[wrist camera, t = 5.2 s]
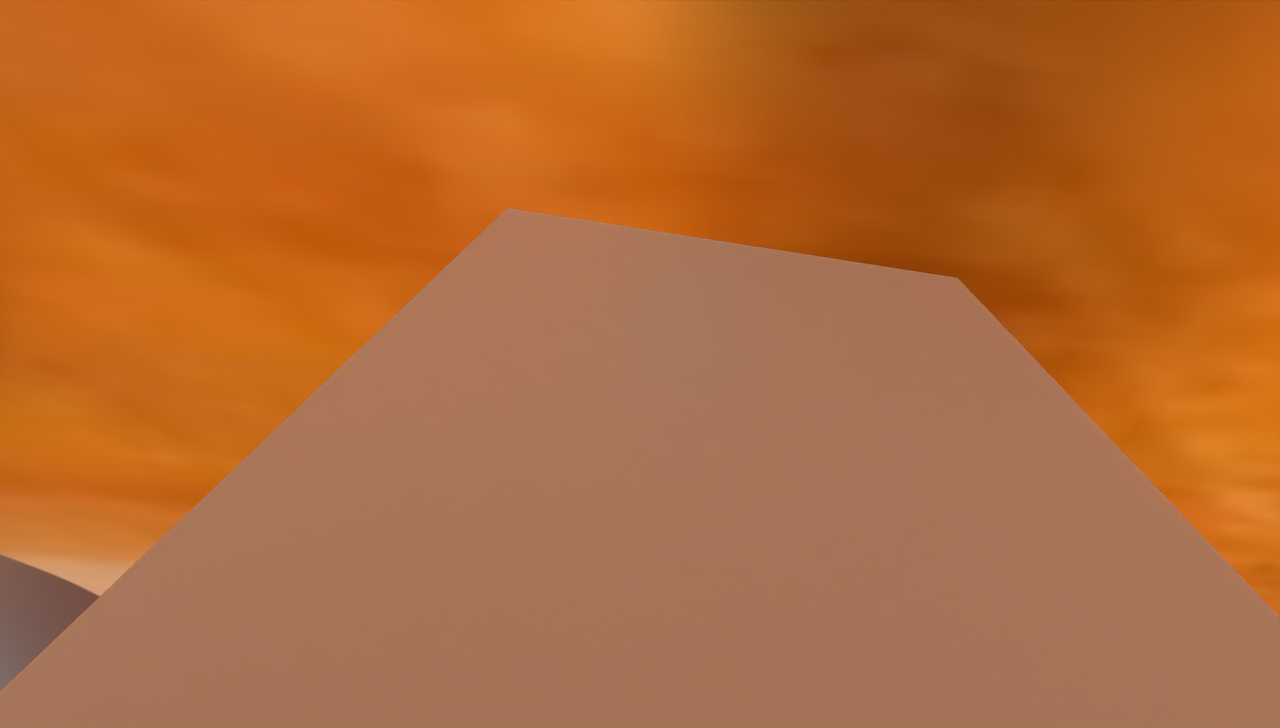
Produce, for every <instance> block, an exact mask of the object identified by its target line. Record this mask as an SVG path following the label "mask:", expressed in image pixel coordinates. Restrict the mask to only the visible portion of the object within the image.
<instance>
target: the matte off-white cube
mask: <svg viewBox="0 0 1280 728" xmlns="http://www.w3.org/2000/svg"><path fill="white" fill-rule="evenodd" d="M0 728H1280V617H1279V616H1278V615H1277V614H1276V613H1275V612H1274V610H1273V609H1272V608H1271V607H1270V606H1269V605H1268V604H1267V603H1266V602H1265V601H1264V600H1263V599H1262V598H1261V597H1260V596H1259V595H1258V594H1257V593H1256V592H1255V590H1254V589H1253V588H1252V587H1251V586H1250V585H1249V584H1248V583H1247V582H1246V581H1245V580H1244V579H1243V578H1242V577H1241V576H1240V575H1239V574H1238V573H1237V572H1236V570H1235V569H1234V568H1233V567H1232V566H1231V565H1230V564H1229V563H1228V562H1227V561H1226V560H1225V559H1224V558H1223V557H1222V556H1221V555H1220V554H1219V553H1218V552H1217V550H1216V549H1215V548H1214V547H1213V546H1212V545H1211V544H1210V543H1209V542H1208V541H1207V540H1206V539H1205V538H1204V537H1203V536H1202V535H1201V534H1200V533H1199V531H1198V530H1197V529H1196V528H1195V527H1194V526H1193V525H1192V524H1191V523H1190V522H1189V521H1188V520H1187V519H1186V518H1185V517H1184V516H1183V515H1182V514H1181V513H1180V511H1179V510H1178V509H1177V508H1176V507H1175V506H1174V505H1173V504H1172V503H1171V502H1170V501H1169V500H1168V499H1167V498H1166V497H1165V496H1164V495H1163V494H1162V493H1161V491H1160V490H1159V489H1158V488H1157V487H1156V486H1155V485H1154V484H1153V483H1152V482H1151V481H1150V480H1149V479H1148V478H1147V477H1146V476H1145V475H1144V474H1143V473H1142V471H1141V470H1140V469H1139V468H1138V467H1137V466H1136V465H1135V464H1134V463H1133V462H1132V461H1131V460H1130V459H1129V458H1128V457H1127V456H1126V455H1125V454H1124V452H1123V451H1122V450H1121V449H1120V448H1119V447H1118V446H1117V445H1116V444H1115V443H1114V442H1113V441H1112V440H1111V439H1110V438H1109V437H1108V436H1107V435H1106V434H1105V432H1104V431H1103V430H1102V429H1101V428H1100V427H1099V426H1098V425H1097V424H1096V423H1095V422H1094V421H1093V420H1092V419H1091V418H1090V417H1089V416H1088V415H1087V414H1086V412H1085V411H1084V410H1083V409H1082V408H1081V407H1080V406H1079V405H1078V404H1077V403H1076V402H1075V401H1074V400H1073V399H1072V398H1071V397H1070V396H1069V395H1068V394H1067V392H1066V391H1065V390H1064V389H1063V388H1062V387H1061V386H1060V385H1059V384H1058V383H1057V382H1056V381H1055V380H1054V379H1053V378H1052V377H1051V376H1050V375H1049V374H1048V372H1047V371H1046V370H1045V369H1044V368H1043V367H1042V366H1041V365H1040V364H1039V363H1038V362H1037V361H1036V360H1035V359H1034V358H1033V357H1032V356H1031V355H1030V353H1029V352H1028V351H1027V350H1026V349H1025V348H1024V347H1023V346H1022V345H1021V344H1020V343H1019V342H1018V341H1017V340H1016V339H1015V338H1014V337H1013V336H1012V335H1011V333H1010V332H1009V331H1008V330H1007V329H1006V328H1005V327H1004V326H1003V325H1002V324H1001V323H1000V322H999V321H998V320H997V319H996V318H995V317H994V316H993V315H992V313H991V312H990V311H989V310H988V309H987V308H986V307H985V306H984V305H983V304H982V303H981V302H980V301H979V300H978V299H977V298H976V297H975V296H974V295H973V293H972V292H971V291H970V290H969V289H968V288H967V287H966V286H965V285H964V284H963V283H962V282H961V281H960V280H959V279H958V278H955V277H949V276H942V275H936V274H930V273H923V272H917V271H910V270H904V269H897V268H891V267H884V266H878V265H872V264H865V263H859V262H852V261H846V260H839V259H833V258H827V257H820V256H814V255H807V254H801V253H794V252H788V251H781V250H775V249H769V248H762V247H756V246H749V245H743V244H736V243H730V242H723V241H717V240H711V239H704V238H698V237H691V236H685V235H678V234H672V233H666V232H659V231H653V230H646V229H640V228H633V227H627V226H620V225H614V224H608V223H601V222H595V221H588V220H582V219H575V218H569V217H562V216H556V215H550V214H543V213H537V212H530V211H524V210H517V209H511V208H507V209H506V210H505V211H504V212H503V213H502V214H501V215H500V216H499V217H498V218H497V219H495V220H494V221H493V222H492V223H491V224H490V225H489V226H488V227H487V228H486V229H485V230H484V231H483V232H482V233H481V234H480V235H479V236H478V237H477V238H476V239H475V240H473V241H472V242H471V243H470V244H469V245H468V246H467V247H466V248H465V249H464V250H463V251H462V252H461V253H460V254H459V255H458V256H457V257H456V258H455V259H454V260H453V261H451V262H450V263H449V264H448V265H447V266H446V267H445V268H444V269H443V270H442V271H441V272H440V273H439V274H438V275H437V276H436V277H435V278H434V279H433V280H432V281H430V282H429V283H428V284H427V285H426V286H425V287H424V288H423V289H422V290H421V291H420V292H419V293H418V294H417V295H416V296H415V297H414V298H413V299H412V300H411V301H410V302H408V303H407V304H406V305H405V306H404V307H403V308H402V309H401V310H400V311H399V312H398V313H397V314H396V315H395V316H394V317H393V318H392V319H391V320H390V321H389V322H387V323H386V324H385V325H384V326H383V327H382V328H381V329H380V330H379V331H378V332H377V333H376V334H375V335H374V336H373V337H372V338H371V339H370V340H369V341H368V342H367V343H365V344H364V345H363V346H362V347H361V348H360V349H359V350H358V351H357V352H356V353H355V354H354V355H353V356H352V357H351V358H350V359H349V360H348V361H347V362H346V363H345V364H343V365H342V366H341V367H340V368H339V369H338V370H337V371H336V372H335V373H334V374H333V375H332V376H331V377H330V378H329V379H328V380H327V381H326V382H325V383H324V384H322V385H321V386H320V387H319V388H318V389H317V390H316V391H315V392H314V393H313V394H312V395H311V396H310V397H309V398H308V399H307V400H306V401H305V402H304V403H303V404H302V405H300V406H299V407H298V408H297V409H296V410H295V411H294V412H293V413H292V414H291V415H290V416H289V417H288V418H287V419H286V420H285V421H284V422H283V423H282V424H281V425H279V426H278V427H277V428H276V429H275V430H274V431H273V432H272V433H271V434H270V435H269V436H268V437H267V438H266V439H265V440H264V441H263V442H262V443H261V444H260V445H259V446H257V447H256V448H255V449H254V450H253V451H252V452H251V453H250V454H249V455H248V456H247V457H246V458H245V459H244V460H243V461H242V462H241V463H240V464H239V465H238V466H237V467H235V468H234V469H233V470H232V471H231V472H230V473H229V474H228V475H227V476H226V477H225V478H224V479H223V480H222V481H221V482H220V483H219V484H218V485H217V486H216V487H214V488H213V489H212V490H211V491H210V492H209V493H208V494H207V495H206V496H205V497H204V498H203V499H202V500H201V501H200V502H199V503H198V504H197V505H196V506H195V507H194V508H192V509H191V510H190V511H189V512H188V513H187V514H186V515H185V516H184V517H183V518H182V519H181V520H180V521H179V522H178V523H177V524H176V525H175V526H174V527H173V528H171V529H170V530H169V531H168V532H167V533H166V534H165V535H164V536H163V537H162V538H161V539H160V540H159V541H158V542H157V543H156V544H155V545H154V546H153V547H152V548H151V549H149V550H148V551H147V552H146V553H145V554H144V555H143V556H142V557H141V558H140V559H139V560H138V561H137V562H136V563H135V564H134V565H133V566H132V567H131V568H130V569H129V570H127V571H126V572H125V573H124V574H123V575H122V576H121V577H120V578H119V579H118V580H117V581H116V582H115V583H114V584H113V585H112V586H111V587H110V588H109V589H108V590H106V591H105V592H104V593H103V594H102V595H101V596H100V597H99V598H98V599H97V600H96V601H95V602H94V603H93V604H92V605H91V606H90V607H89V608H88V609H87V610H86V611H84V612H83V613H82V615H80V616H79V617H78V618H77V619H76V620H75V621H74V622H73V623H72V624H71V625H70V626H69V627H68V628H67V629H66V630H65V631H63V632H62V634H60V635H59V636H58V637H57V638H56V639H55V640H54V641H53V642H52V643H51V644H50V645H49V646H48V647H47V648H46V649H45V650H44V651H43V652H41V653H40V654H39V655H38V656H37V657H36V658H35V659H34V660H33V661H32V662H31V663H30V664H29V665H28V666H27V667H26V668H25V669H24V670H23V671H22V672H21V673H20V674H18V675H17V676H16V677H15V678H14V679H13V680H12V681H11V682H10V683H9V684H8V685H7V686H6V687H5V688H4V689H3V690H2V691H1V692H0Z"/></svg>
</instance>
